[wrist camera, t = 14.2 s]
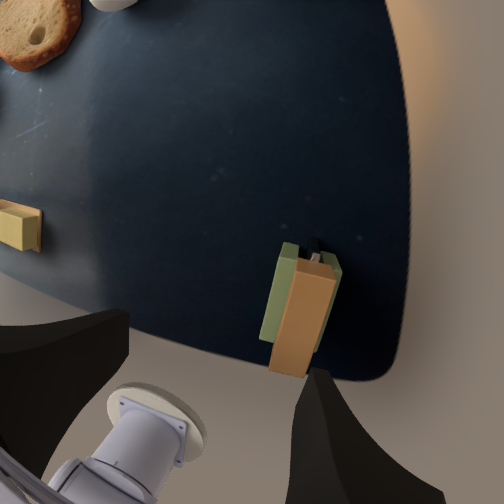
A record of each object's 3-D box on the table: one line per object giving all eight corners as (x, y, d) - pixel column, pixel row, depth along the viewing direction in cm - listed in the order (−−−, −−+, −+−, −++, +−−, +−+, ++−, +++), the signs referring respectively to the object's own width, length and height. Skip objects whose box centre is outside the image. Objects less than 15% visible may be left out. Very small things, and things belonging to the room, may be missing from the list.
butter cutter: (303, 324, 20) (301, 385, 14) (278, 318, 20) (265, 376, 14) (327, 240, 19) (339, 271, 12) (300, 234, 19) (298, 261, 12)
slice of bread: (4, 6, 18) (-13, -1, 14) (103, -62, 14) (87, -77, 11) (-19, 115, 21) (-41, 113, 18) (79, 50, 18) (51, 38, 15)
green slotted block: (314, 322, 20) (316, 353, 16) (267, 311, 20) (258, 339, 17) (335, 254, 19) (343, 271, 15) (284, 241, 19) (279, 256, 15)
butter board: (41, 252, 23) (39, 252, 23) (-11, 229, 24) (-13, 230, 24) (42, 210, 22) (39, 210, 22) (-11, 195, 23) (-13, 195, 23)
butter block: (37, 246, 23) (22, 251, 21) (10, 235, 23) (-4, 239, 21) (37, 215, 22) (22, 218, 20) (10, 207, 23) (-4, 209, 21)
